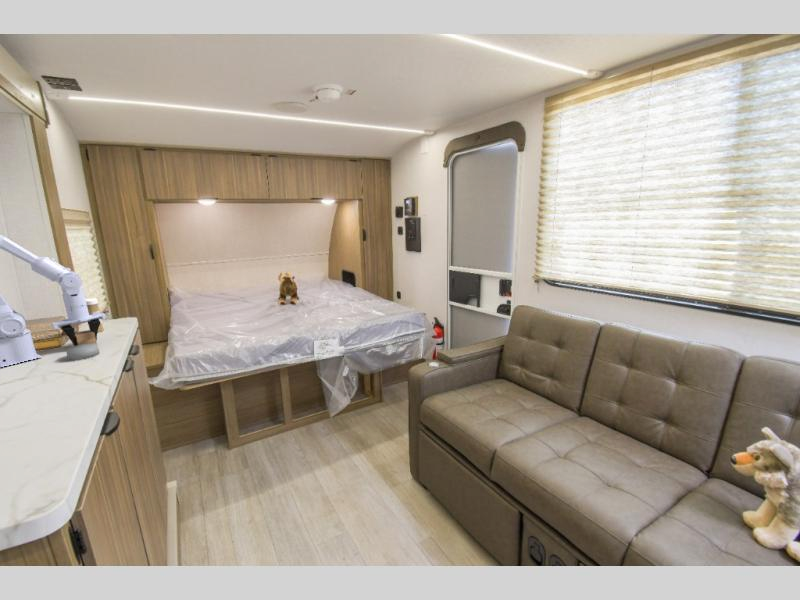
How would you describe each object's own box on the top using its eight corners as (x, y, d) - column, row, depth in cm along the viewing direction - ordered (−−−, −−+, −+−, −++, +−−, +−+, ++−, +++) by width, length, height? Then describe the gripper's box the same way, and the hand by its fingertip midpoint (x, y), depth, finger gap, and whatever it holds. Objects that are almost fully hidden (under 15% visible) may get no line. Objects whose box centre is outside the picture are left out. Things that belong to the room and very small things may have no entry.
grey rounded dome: (73, 362, 117) (70, 353, 116) (64, 357, 121) (62, 349, 120) (103, 354, 123) (101, 345, 122) (94, 349, 127) (92, 341, 127)
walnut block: (79, 349, 128) (76, 336, 127) (74, 347, 130) (71, 334, 129) (97, 345, 132) (94, 332, 131) (92, 342, 135) (88, 330, 133)
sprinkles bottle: (87, 332, 147) (79, 300, 144) (99, 329, 151) (92, 297, 148) (94, 333, 145) (86, 301, 142) (106, 330, 149) (99, 298, 146)
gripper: (52, 312, 120) (62, 351, 123) (105, 302, 131) (113, 338, 135) (45, 309, 123) (55, 347, 127) (98, 300, 135) (106, 335, 138)
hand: (85, 342), depth 131 cm, fingers closed on walnut block, 5 cm apart
